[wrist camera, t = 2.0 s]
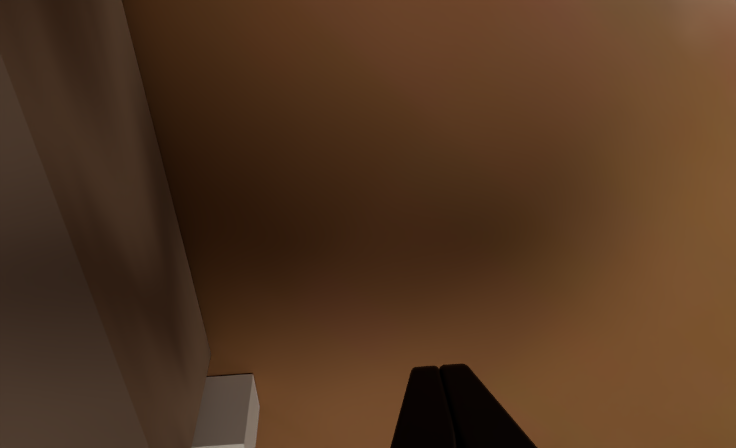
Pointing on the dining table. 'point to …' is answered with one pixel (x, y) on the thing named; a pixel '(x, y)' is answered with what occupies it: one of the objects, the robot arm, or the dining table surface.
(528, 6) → the dining table surface
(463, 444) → the robot arm
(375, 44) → the dining table surface
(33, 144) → the carriage
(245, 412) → the bay
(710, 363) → the dining table surface
